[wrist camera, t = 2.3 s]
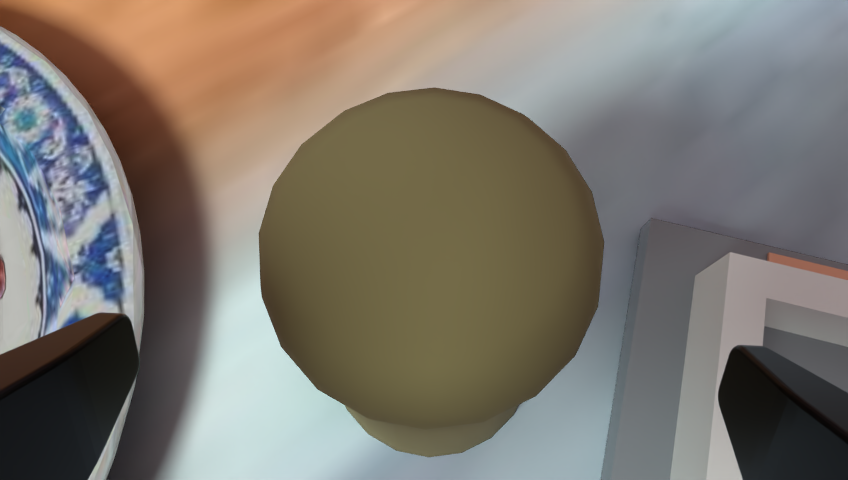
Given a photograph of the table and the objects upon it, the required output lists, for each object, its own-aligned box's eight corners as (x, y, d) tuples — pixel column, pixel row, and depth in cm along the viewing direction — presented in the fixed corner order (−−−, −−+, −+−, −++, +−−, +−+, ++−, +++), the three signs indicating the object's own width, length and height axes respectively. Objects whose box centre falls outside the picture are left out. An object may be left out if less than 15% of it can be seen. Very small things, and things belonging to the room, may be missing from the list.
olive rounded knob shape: (529, 258, 19) (645, 23, 9) (535, 460, 17) (697, 473, 7) (340, 253, 19) (229, 16, 9) (323, 453, 17) (153, 455, 7)
